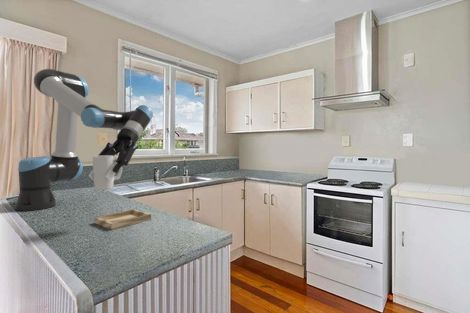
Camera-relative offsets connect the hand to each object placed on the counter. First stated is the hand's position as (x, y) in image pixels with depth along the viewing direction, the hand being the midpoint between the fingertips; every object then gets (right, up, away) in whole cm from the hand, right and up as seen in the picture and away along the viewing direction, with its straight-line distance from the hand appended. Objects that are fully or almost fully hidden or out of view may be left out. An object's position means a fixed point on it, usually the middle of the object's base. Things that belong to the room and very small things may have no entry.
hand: (99, 178), depth 92 cm
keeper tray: (+6, -17, +7) cm, 19 cm away
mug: (+2, -4, +3) cm, 6 cm away
